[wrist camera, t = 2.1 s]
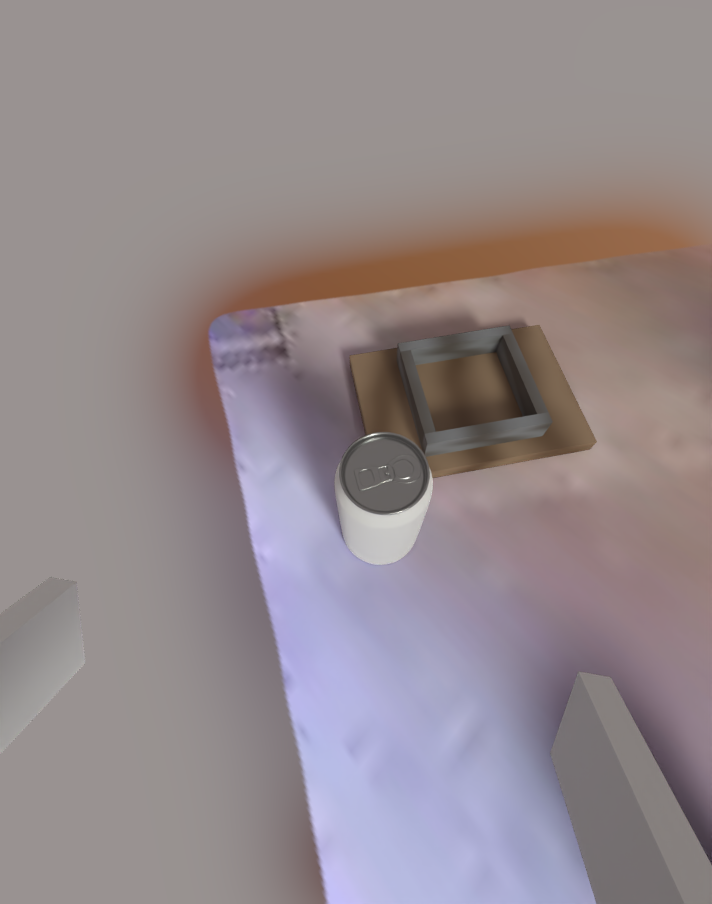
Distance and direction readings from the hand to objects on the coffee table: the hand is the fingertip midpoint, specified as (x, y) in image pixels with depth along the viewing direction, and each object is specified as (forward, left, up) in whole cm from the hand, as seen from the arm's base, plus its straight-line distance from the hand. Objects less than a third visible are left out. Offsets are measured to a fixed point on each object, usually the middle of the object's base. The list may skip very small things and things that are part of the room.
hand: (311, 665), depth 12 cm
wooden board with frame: (-15, -21, -24) cm, 35 cm away
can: (-5, -10, -24) cm, 27 cm away
